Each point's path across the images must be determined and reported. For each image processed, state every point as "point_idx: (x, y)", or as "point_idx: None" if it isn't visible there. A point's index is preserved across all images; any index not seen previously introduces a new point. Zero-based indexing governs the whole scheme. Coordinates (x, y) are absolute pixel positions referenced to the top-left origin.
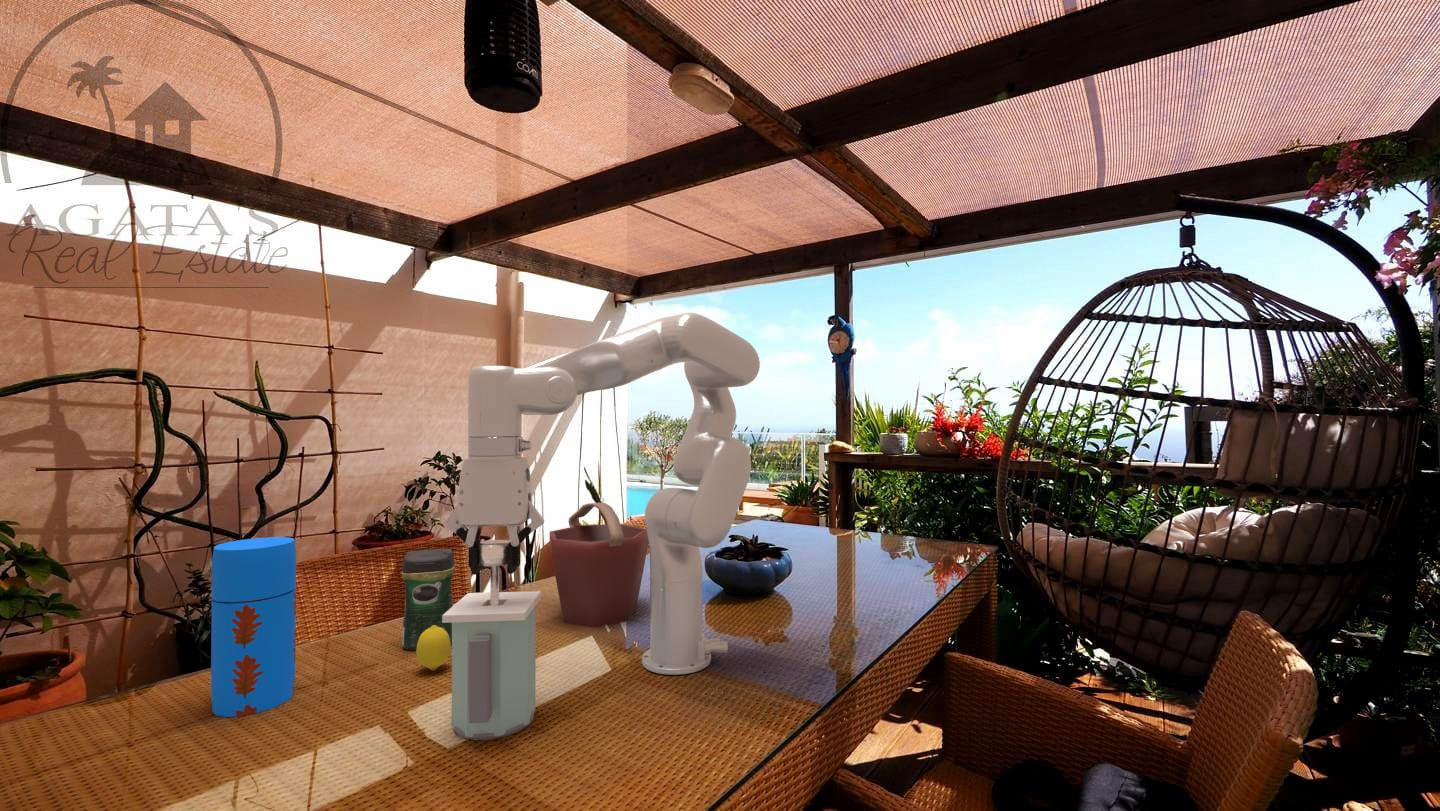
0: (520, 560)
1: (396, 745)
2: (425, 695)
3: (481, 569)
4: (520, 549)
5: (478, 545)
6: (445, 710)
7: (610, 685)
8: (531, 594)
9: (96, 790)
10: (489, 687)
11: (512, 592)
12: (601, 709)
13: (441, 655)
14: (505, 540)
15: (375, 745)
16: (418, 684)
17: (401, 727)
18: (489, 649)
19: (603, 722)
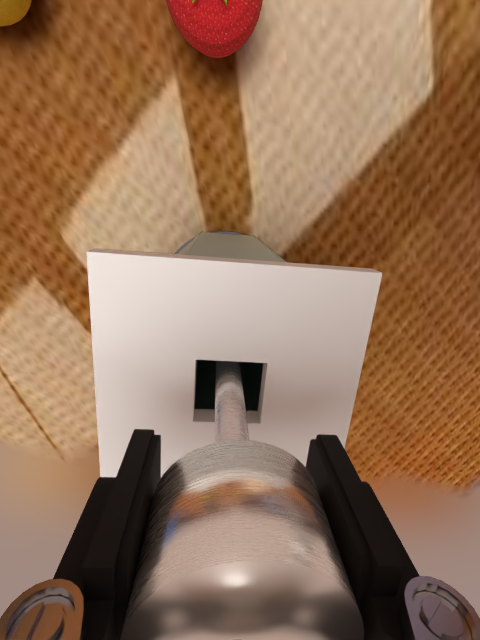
0: (372, 491)
1: None
2: (61, 162)
3: (159, 452)
4: (406, 553)
5: (115, 630)
6: (128, 240)
7: (417, 181)
8: (347, 315)
9: None
10: None
11: (272, 274)
12: (389, 279)
13: (19, 10)
14: (320, 593)
15: (66, 342)
16: (16, 93)
17: (78, 292)
18: None
19: (386, 322)
